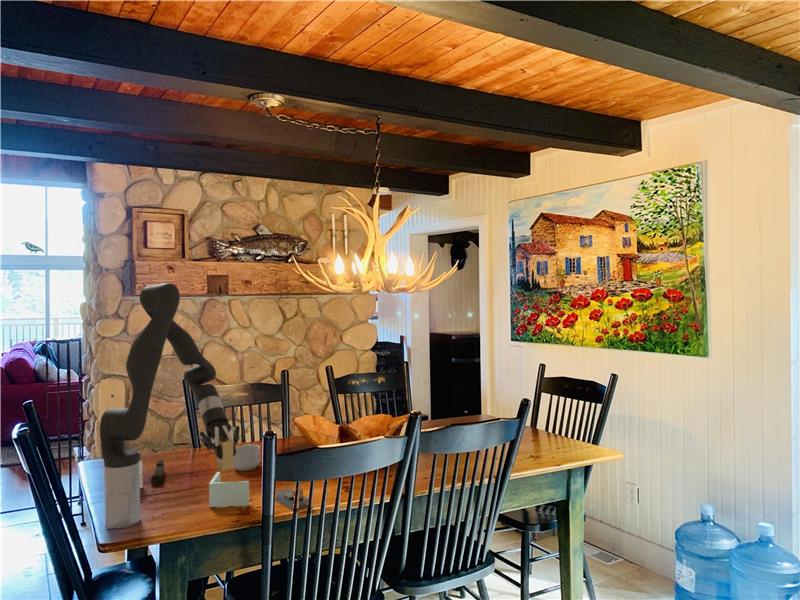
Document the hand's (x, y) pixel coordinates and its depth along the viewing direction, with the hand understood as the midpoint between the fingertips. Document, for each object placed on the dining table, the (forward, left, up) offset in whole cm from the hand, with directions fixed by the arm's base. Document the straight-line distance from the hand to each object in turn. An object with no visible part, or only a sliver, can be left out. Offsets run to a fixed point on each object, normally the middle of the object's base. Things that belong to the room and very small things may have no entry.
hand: (227, 456), depth 184 cm
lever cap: (+2, +1, -4) cm, 5 cm away
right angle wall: (+1, -1, -14) cm, 15 cm away
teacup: (+37, -2, -14) cm, 39 cm away
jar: (+20, +36, -14) cm, 43 cm away
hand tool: (+30, +29, -15) cm, 45 cm away
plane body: (-5, -20, -14) cm, 25 cm away
